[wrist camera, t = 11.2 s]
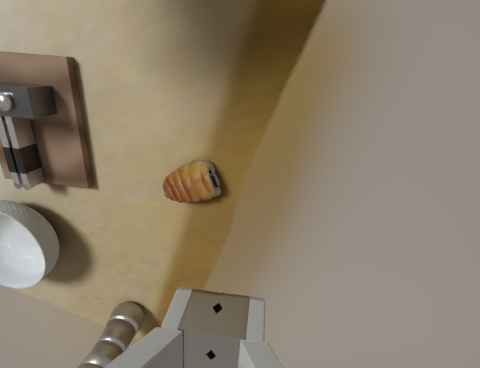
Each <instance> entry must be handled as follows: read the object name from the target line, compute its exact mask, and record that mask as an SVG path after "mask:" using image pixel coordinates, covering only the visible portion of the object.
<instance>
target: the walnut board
mask: <svg viewBox="0 0 480 368" xmlns="http://www.w3.org/2000/svg"><path fill="white" fill-rule="evenodd" d="M0 82H15V83H26V84H37V85H48V86H52V88H53V93H54V98H55V103H56V108H57V113H58V114H55V115H50V116H45V117H40V118H36V119H30V123H31V127H32V131H33V135H34V139H35V143H37V147H38V152H39V156H40V160H41V164H42V167H41V169H42V173H43V177H44V182H43V183H50V184H59V185H68V186H77V187H85V188H89V187H90V186H92V185H93V178H92V172H91V166H90V159H89V153H88V147H87V141H86V134H85V128H84V122H83V116H82V109H81V103H80V97H79V91H78V84H77V78H76V72H75V66H74V59H73V57H61V56H49V55H37V54H25V53H13V52H0ZM2 147H3V144H2V141H1V137H0V164H1V167H2V170H3V173H4V177H5V178H7V179H12V175H11V172H9V169H8V166H7V162H6V159H5V156H4V152H3V149H2Z"/></svg>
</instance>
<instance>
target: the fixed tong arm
mask: <svg viewBox="0 0 480 368" xmlns="http://www.w3.org/2000/svg"><path fill="white" fill-rule="evenodd" d="M0 137H1V141H2V144H3V147H2V149H3V152H4V156H5V159H6V162H7V166H8V169H9V172H11V175H12V179H13V182H14V186H15V187H16V188H18V189H19V188H21V187H23V182H22V179H21V175H20V173H19V172H18V169H17V165H16V161H15V158H14V154H13V151H12V148H13V146H12V142H11V139H10V135H9V132H8V128H7V124H6V121H5V117H4V116H0Z"/></svg>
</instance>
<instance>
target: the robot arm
mask: <svg viewBox="0 0 480 368" xmlns="http://www.w3.org/2000/svg"><path fill="white" fill-rule="evenodd" d="M264 323H265V300H264V298H258V297H250V298H249V296H242V295H235V294H227V293H217V292H211V291H205V290H199V289H191V288H185V287H179V288H178V289H177V290H176V293H175V295H174V297H173V300H172V302H171V304H170V307H169V309H168V312H167V314H166V316H165V319H164V321H163V323H162V326H161V327H156V328H154V329H153V330H152V331H150V332H149V333H148V334H146V335H145V336H144V337H143V338H141V339H140V340H139V341H137V342H136V343H135V344H134V345H132V346H131V347H130V348H128V349H127V350H126V351H124V352H123V353H122V354H121V355H119V356H118V357H117V358H115V359H114V360H113V361H112V362H110V363H109V364H108V365H106V366H105V367H104V368H283V366H282V365H281V363H280V361H279V360H278V358H277V356H276V355H275V353H274V351H273V350H272V348H271V346H270V345H269V343H264V326H265V324H264Z"/></svg>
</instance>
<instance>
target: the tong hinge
mask: <svg viewBox="0 0 480 368" xmlns="http://www.w3.org/2000/svg"><path fill="white" fill-rule="evenodd" d="M55 114H58V113H57V108H56V103H55V98H54V93H53V88H52V86H48V85H37V84H26V83H15V82H0V116H9V117H19V118H29V119H36V118H40V117H45V116H50V115H55Z"/></svg>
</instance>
